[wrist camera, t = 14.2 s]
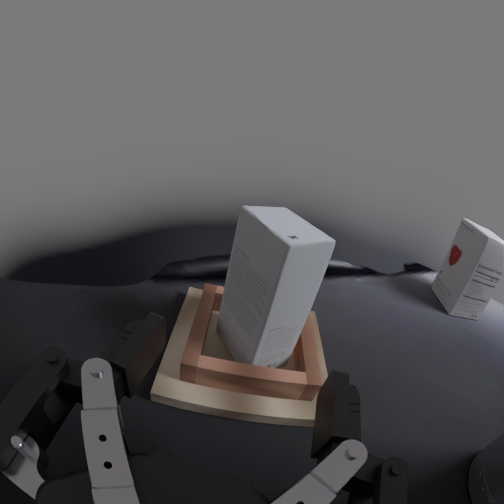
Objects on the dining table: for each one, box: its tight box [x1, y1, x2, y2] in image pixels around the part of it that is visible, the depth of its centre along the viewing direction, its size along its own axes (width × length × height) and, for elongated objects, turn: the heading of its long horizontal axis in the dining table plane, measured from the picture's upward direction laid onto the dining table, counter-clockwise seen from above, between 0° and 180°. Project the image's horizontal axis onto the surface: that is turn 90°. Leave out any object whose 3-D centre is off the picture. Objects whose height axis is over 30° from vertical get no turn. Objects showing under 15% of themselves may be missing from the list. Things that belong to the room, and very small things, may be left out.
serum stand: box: [150, 283, 328, 427], centre depth 24 cm, size 14×14×3 cm
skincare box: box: [216, 206, 336, 368], centre depth 21 cm, size 6×4×12 cm
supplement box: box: [431, 218, 504, 320], centre depth 39 cm, size 9×9×15 cm
